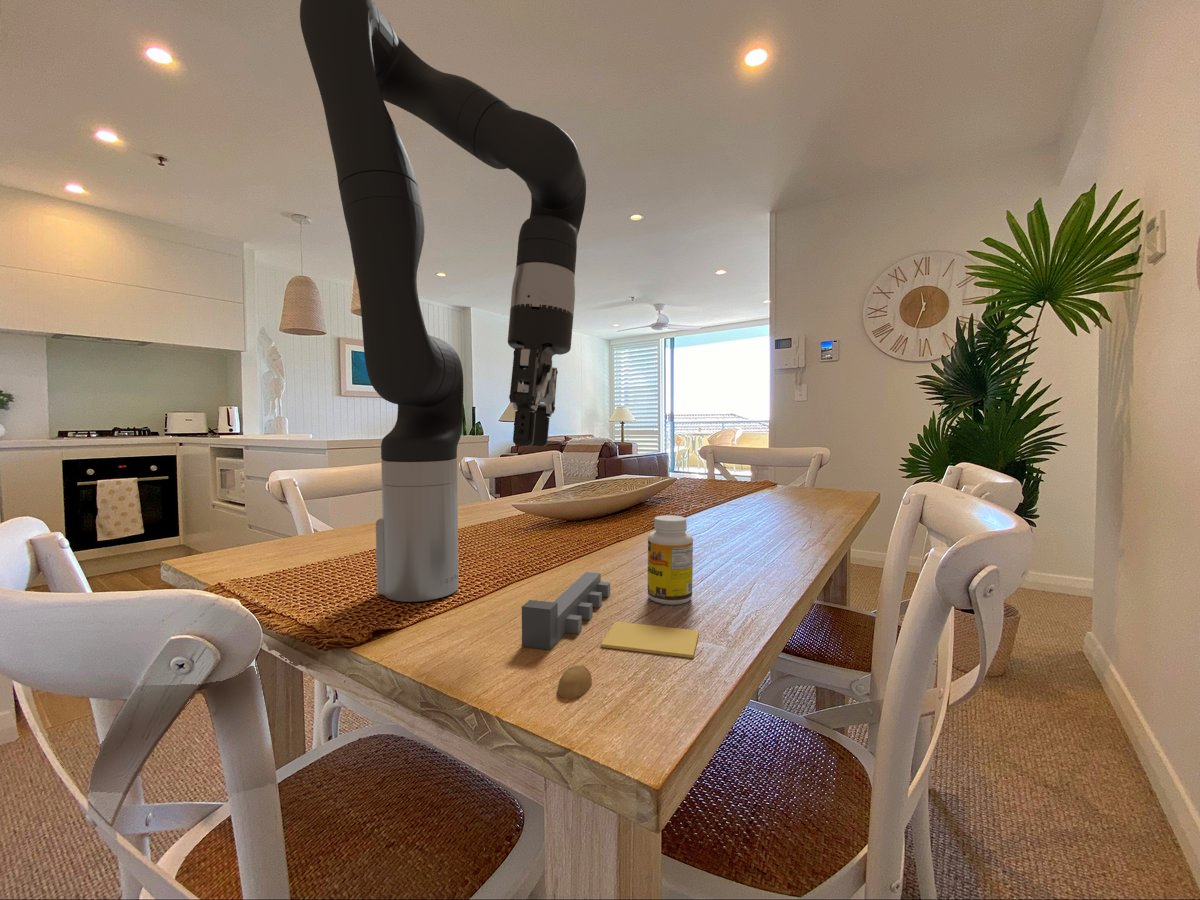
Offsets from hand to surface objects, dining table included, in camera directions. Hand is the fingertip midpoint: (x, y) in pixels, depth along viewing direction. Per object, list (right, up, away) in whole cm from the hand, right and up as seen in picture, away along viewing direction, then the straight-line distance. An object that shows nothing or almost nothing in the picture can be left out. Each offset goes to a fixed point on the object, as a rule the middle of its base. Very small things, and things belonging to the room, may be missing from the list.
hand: (531, 445), depth 63 cm
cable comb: (+5, -19, -3) cm, 20 cm away
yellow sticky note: (+13, -20, -9) cm, 26 cm away
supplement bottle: (+17, -19, +3) cm, 26 cm away
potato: (+6, -21, -19) cm, 29 cm away
